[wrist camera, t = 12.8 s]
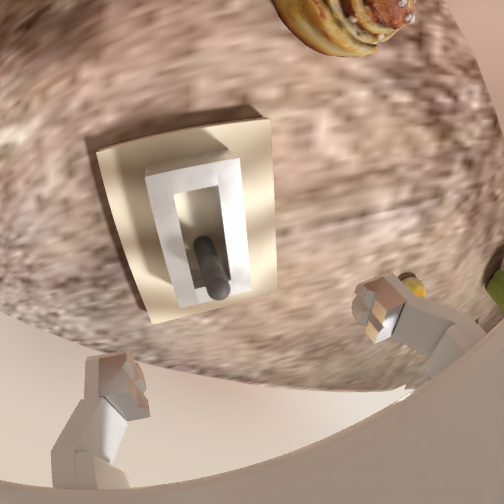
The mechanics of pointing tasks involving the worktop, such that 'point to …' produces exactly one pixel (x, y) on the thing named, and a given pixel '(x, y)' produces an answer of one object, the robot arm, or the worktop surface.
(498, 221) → the worktop surface
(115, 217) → the keeper stand
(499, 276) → the plant pot
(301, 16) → the pastry
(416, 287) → the bread roll
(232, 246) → the hollow rectangular frame
